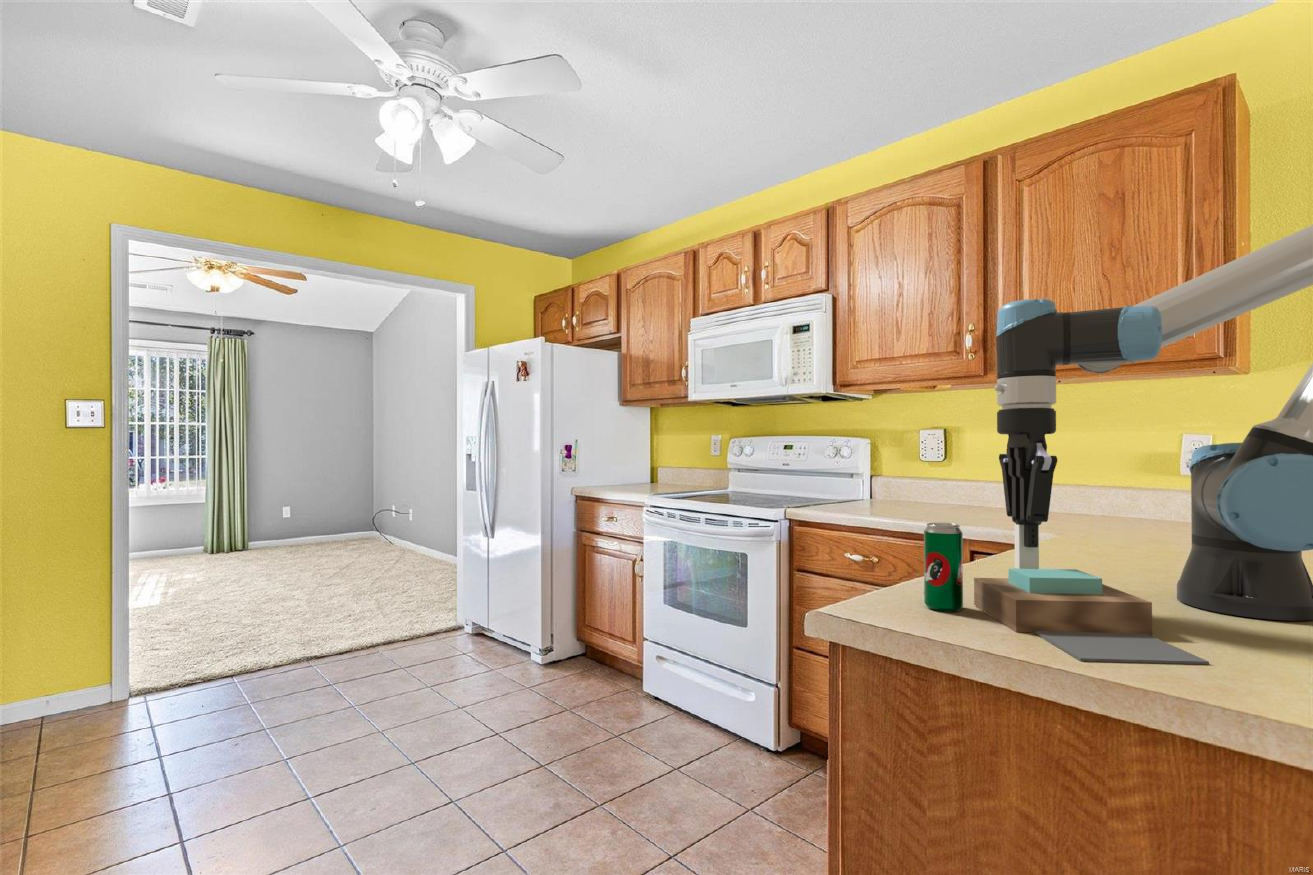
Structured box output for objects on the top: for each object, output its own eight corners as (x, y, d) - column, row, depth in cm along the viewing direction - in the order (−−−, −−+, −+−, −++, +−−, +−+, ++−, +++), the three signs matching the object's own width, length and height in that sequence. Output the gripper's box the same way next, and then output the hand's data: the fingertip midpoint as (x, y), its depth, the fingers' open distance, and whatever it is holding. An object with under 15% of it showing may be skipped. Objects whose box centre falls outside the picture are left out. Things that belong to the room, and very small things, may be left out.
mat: (1146, 636, 79) (1146, 633, 79) (1208, 664, 69) (1208, 661, 69) (1034, 633, 80) (1034, 631, 80) (1080, 661, 70) (1080, 658, 70)
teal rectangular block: (1076, 583, 89) (1076, 569, 89) (1102, 594, 83) (1102, 578, 83) (1008, 582, 90) (1008, 568, 90) (1029, 592, 84) (1029, 577, 84)
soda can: (967, 613, 89) (966, 527, 89) (928, 612, 90) (928, 526, 90) (957, 604, 94) (957, 522, 94) (921, 603, 95) (920, 521, 95)
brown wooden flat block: (1090, 607, 92) (1090, 579, 92) (1152, 635, 79) (1152, 602, 79) (974, 605, 93) (974, 577, 93) (1016, 631, 80) (1015, 599, 80)
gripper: (981, 409, 101) (981, 559, 101) (1019, 405, 88) (1020, 577, 88) (1031, 409, 100) (1032, 560, 100) (1077, 404, 87) (1078, 578, 87)
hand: (1026, 568), depth 94 cm, fingers closed
